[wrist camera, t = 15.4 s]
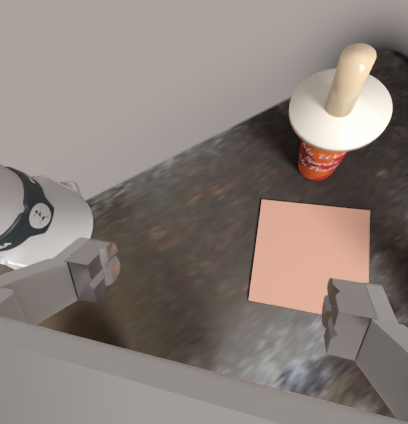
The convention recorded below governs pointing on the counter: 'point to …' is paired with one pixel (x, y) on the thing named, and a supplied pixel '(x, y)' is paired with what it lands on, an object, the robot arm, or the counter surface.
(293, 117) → the lid
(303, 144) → the paper cup
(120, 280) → the counter surface
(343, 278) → the mat
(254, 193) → the counter surface
